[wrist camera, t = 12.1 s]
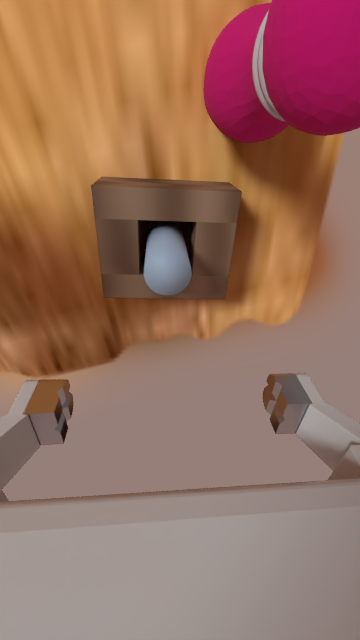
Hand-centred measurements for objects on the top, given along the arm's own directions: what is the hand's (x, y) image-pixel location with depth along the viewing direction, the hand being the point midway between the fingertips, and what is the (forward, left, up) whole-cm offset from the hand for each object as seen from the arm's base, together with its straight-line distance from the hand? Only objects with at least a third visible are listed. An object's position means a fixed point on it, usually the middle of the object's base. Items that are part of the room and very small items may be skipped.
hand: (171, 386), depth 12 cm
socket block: (0, 0, -21) cm, 21 cm away
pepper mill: (+6, +12, -22) cm, 25 cm away
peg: (0, 0, -21) cm, 21 cm away
